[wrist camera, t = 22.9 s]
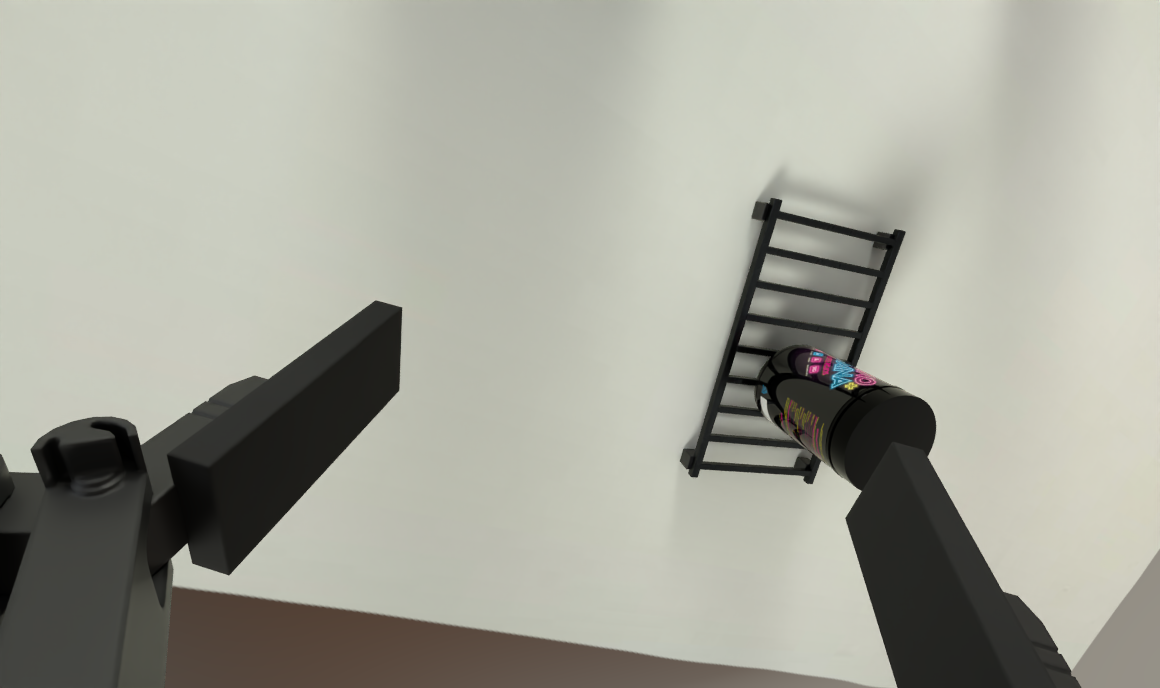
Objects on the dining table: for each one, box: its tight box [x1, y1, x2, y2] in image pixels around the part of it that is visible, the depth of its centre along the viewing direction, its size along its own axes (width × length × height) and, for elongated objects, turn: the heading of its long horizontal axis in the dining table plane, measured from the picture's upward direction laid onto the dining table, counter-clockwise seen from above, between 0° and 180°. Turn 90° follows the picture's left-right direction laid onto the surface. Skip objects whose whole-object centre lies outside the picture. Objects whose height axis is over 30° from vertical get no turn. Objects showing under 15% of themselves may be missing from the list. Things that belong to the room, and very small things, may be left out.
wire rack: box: [680, 198, 906, 484], centre depth 43 cm, size 22×13×2 cm, turn 167°
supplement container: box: [754, 345, 936, 491], centre depth 38 cm, size 7×7×10 cm
